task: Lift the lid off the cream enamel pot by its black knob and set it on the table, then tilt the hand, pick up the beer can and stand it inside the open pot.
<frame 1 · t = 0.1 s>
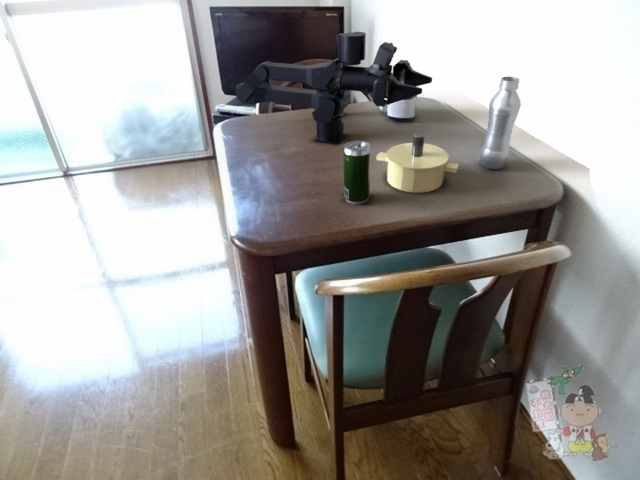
hand: (427, 85, 101), 17 cm above the table, tool horizontal, fingers open, 9 cm apart
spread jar: (396, 117, 132), on the table
pot lid: (416, 156, 95), point 5 cm above the table, touching pot
sundae: (335, 115, 135), on the table
pot: (414, 179, 98), on the table
beer can: (356, 199, 92), on the table
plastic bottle: (491, 166, 102), on the table
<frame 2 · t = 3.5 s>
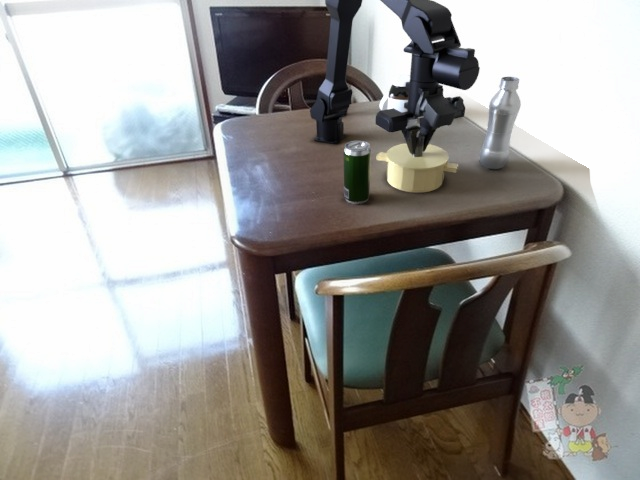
hand: (417, 152, 95), 7 cm above the table, tool pointing down, fingers closed on pot lid, 2 cm apart
pot lid: (416, 156, 95), point 5 cm above the table, touching gripper, pot
everything else where it was.
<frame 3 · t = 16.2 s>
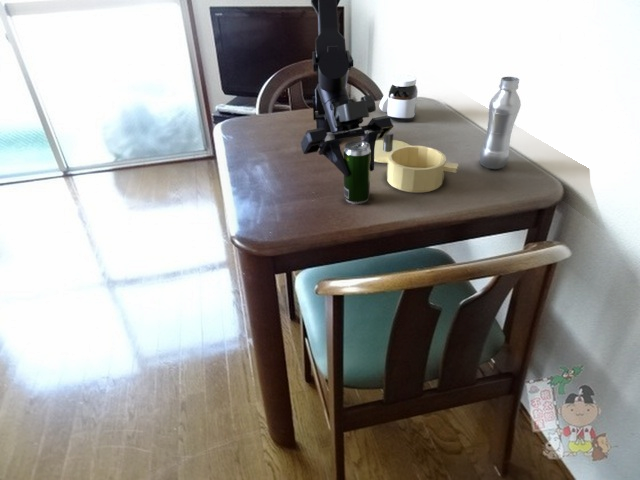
hand: (360, 173, 87), 7 cm above the table, tool tilted 45°, fingers closed on beer can, 5 cm apart
pot lid: (387, 151, 110), point 1 cm above the table
beer can: (356, 199, 92), on the table, touching gripper
everything else where it was.
when the fingers open (7 cm above the table, at t = 22.6 s): beer can stays where it is, resting on pot.
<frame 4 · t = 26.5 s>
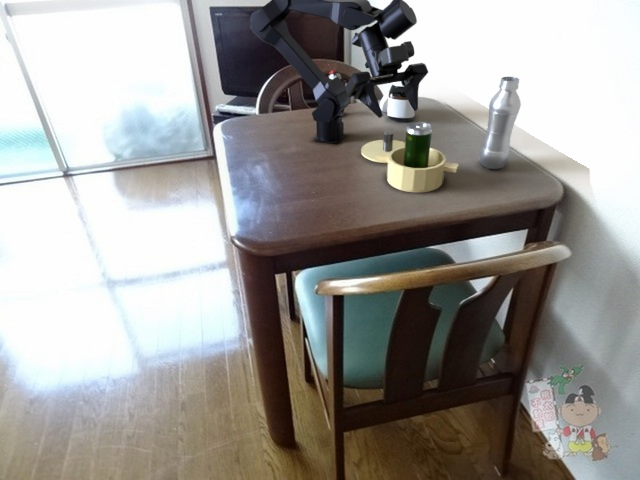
hand: (398, 113, 98), 13 cm above the table, tool tilted 45°, fingers open, 9 cm apart
beer can: (414, 177, 98), resting on pot
everything else where it was.
at the end: pot lid point 0.6 cm above the table; beer can inside the target area in the pot (0.1 cm from its centre), point 0.3 cm above the pot's base; beer can tilted 0° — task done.
